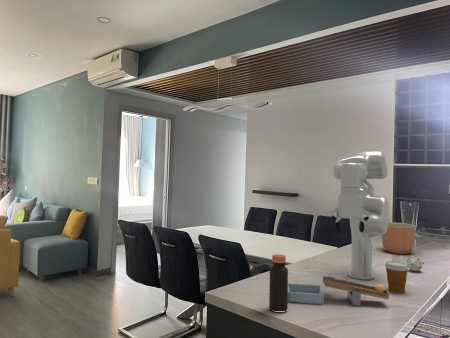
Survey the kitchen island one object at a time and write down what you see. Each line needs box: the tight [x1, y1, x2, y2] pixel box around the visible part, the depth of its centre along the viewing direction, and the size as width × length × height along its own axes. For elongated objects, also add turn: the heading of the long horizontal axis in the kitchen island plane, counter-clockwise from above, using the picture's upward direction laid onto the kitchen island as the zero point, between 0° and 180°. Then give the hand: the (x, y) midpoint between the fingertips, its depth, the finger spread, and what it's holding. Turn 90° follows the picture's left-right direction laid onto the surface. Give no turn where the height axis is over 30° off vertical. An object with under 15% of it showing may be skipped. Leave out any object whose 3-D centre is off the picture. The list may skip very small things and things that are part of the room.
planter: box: [380, 221, 416, 255], centre depth 231 cm, size 21×21×19 cm
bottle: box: [268, 253, 289, 312], centre depth 127 cm, size 7×7×20 cm
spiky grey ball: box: [406, 255, 425, 273], centre depth 183 cm, size 9×8×10 cm
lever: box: [322, 275, 391, 300], centre depth 139 cm, size 13×24×4 cm, turn 82°
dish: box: [288, 282, 325, 306], centre depth 139 cm, size 12×14×4 cm
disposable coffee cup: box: [384, 260, 410, 294], centre depth 151 cm, size 10×10×12 cm
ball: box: [374, 283, 386, 293], centre depth 135 cm, size 4×4×4 cm
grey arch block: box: [347, 291, 362, 307], centre depth 136 cm, size 9×3×6 cm, turn 172°
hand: (349, 231), depth 146 cm, fingers open, 9 cm apart
